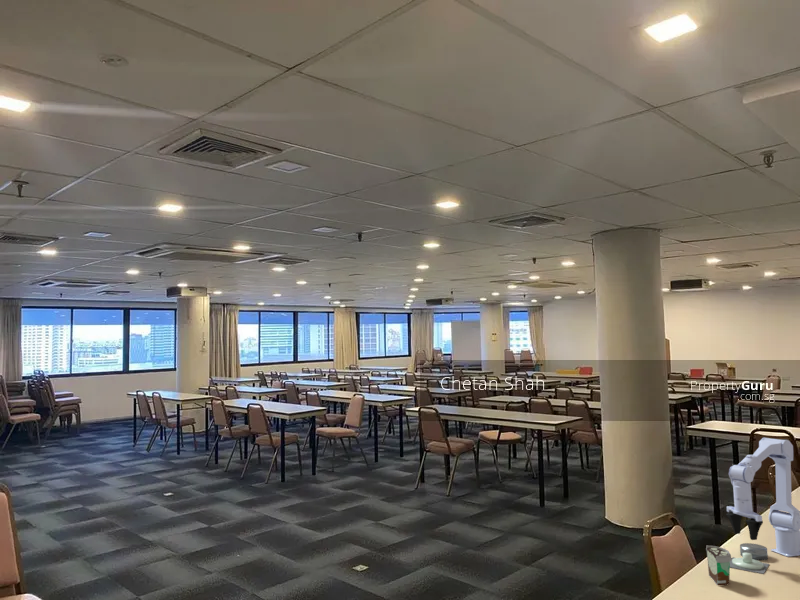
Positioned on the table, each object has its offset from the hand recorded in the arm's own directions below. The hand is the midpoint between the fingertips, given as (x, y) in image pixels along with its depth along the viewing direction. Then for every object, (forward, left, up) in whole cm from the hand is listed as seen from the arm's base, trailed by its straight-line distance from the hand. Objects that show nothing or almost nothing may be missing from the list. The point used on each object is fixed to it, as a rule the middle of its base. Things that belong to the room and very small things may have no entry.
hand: (745, 536), depth 218 cm
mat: (0, 0, -10) cm, 10 cm away
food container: (+20, +10, -11) cm, 24 cm away
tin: (-10, -8, -10) cm, 16 cm away
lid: (0, 0, -10) cm, 10 cm away
